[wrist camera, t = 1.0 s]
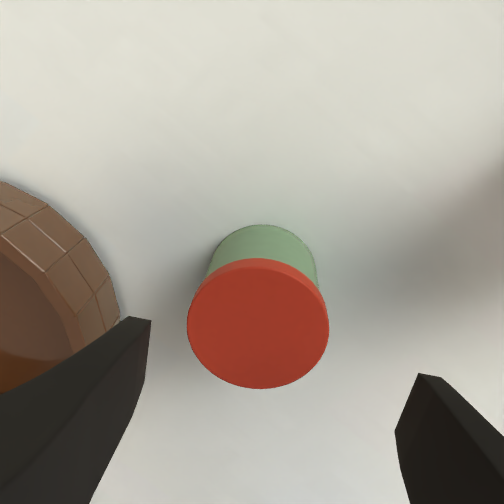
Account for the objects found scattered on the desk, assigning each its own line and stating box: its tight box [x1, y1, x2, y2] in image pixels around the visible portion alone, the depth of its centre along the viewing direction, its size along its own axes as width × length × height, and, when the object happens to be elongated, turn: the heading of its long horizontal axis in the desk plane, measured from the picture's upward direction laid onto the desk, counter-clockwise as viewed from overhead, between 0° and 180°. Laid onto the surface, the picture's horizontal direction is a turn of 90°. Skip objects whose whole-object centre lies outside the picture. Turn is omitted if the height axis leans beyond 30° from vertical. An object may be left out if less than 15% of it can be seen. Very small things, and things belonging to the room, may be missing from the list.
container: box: [187, 225, 329, 389], centre depth 18 cm, size 5×5×5 cm
